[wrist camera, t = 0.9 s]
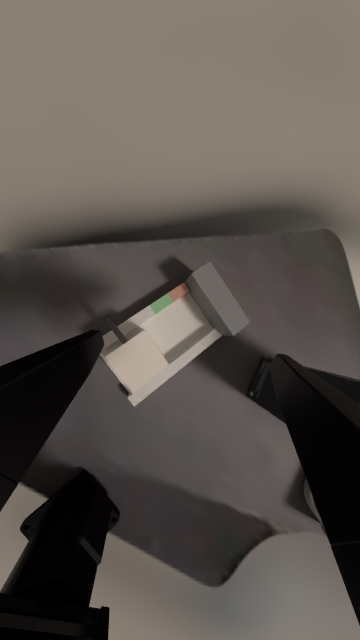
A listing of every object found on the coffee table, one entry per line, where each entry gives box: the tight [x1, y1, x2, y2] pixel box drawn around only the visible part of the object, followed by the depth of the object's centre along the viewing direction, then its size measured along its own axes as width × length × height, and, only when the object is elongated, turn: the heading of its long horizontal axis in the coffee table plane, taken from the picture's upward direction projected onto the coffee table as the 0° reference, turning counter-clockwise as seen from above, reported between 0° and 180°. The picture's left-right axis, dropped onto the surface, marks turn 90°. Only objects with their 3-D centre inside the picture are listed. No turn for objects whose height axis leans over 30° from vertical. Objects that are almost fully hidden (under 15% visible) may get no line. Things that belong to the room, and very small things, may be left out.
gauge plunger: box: [104, 316, 169, 394], centre depth 15 cm, size 4×7×4 cm, turn 36°
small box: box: [247, 356, 360, 424], centre depth 16 cm, size 11×6×10 cm, turn 62°
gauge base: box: [100, 262, 250, 406], centre depth 17 cm, size 15×8×4 cm, turn 126°
